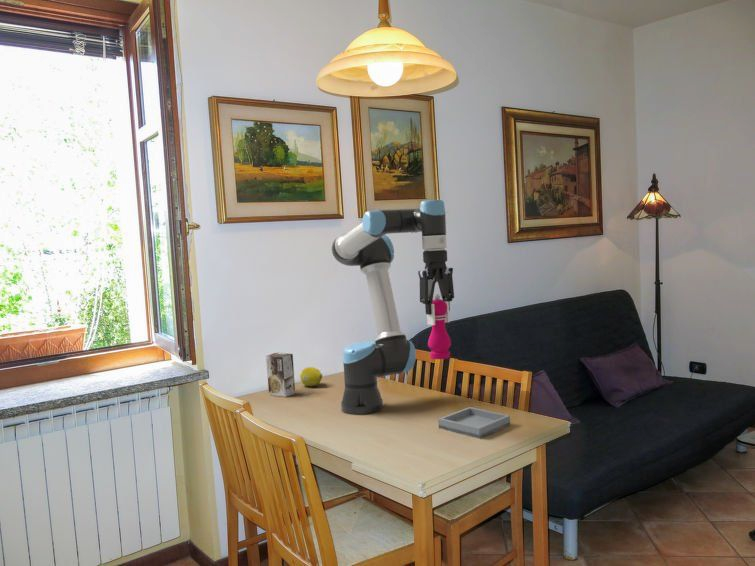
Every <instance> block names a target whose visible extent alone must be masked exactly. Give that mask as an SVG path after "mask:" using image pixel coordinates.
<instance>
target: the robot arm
mask: <svg viewBox="0 0 755 566" xmlns="http://www.w3.org/2000/svg"><path fill="white" fill-rule="evenodd" d="M446 214H447V213H446V209H445V201H443V200H442V199H428V200H427V199H426V200H422V201H421V202H420V207H419V208H407V209H405V208H403V209H374V210H367V211H366V212H365V213H364V215H363V217H362V222H361V223H360V224H358V225H357V226H355V227H354V228H353V229H352V230H350V231H348V232H347V233H346V232H345V233H341V234H339V236H337V237H336V238H335V239H334V240H333V242H332V244H331V253H332V256H333V258H334V259H335V260H336V261H337V262H339V263H340V264H341V265H344V266H349V267H357V266H359V268H360V271H361V273H362V274H364V275H365V278H366V281H367V287H368V292H369V299H370V302H371V307H372V312H373V317H374V323H375V329H376V332H377V336H376V339H375V340H374V341H371V340H370V341H369V340H367V341H366V340H365V341H359V342H354V343H351V344H349V345H347V346H346V347H345V348H344V349H343V352H342V354H343V358H342V363H343V375H344V391H343V395H342V400H341V402H340V410H341V412H344V413H345V414H351V415H364V414H365V415H367V414H373V413H376V412H379V411H381V410H382V409H384V401H383V399H382V396H381V393H380V390H379V386H378V378H381V377H387V376H393V375H401V374H404V373H409V372H411V370H413V368H414V366H415V362H416V358H417V357H416V355H417V353H416V348H415V347H416V346H415V344H414V343H413V341H412V340H409V339H407V335H406V334H405V333H404V332H402V330H401V326H400V322H399V316H398V313H397V308H396V301H395V298H394V292H393V289H392V283H391V277H390V275H389V274H390V273H389V269H390V268H391V266H392V264H391V263H392V262H393V260H394V259H395V249H394V245H393V242H392V240H391V239H390V237H389V236H388V235H387V234H401V233H402V234H404V233H405V234H406V233H407V234H408V233H410V234H411V233H412V234H413V233H420V232H421V240H422V243H421V245H422V249H423V250H424V251H423V252H422V261H423V263H424V265H425V266H424V269H423V270H419V271H418V272H417V275H418V278H419V302H420V303H422V304H423V305H424V306H425V314H426V323H427V324H426V325H428V326H432V325H435V309H434V304H432V301H433V300H434V299H433V298H434V292H435V286H436V284H437V285H438V289H439V291H440V297H441V298H442V299H441V300H443V301H445V302H446V304H447V311H446V312H445V315H446V319H445V323H451V322H450V311H451V309H450V308H451V305H450V303H451V302H452V301H453V299H454V298H455V293H454V292H455V291H454V290H455V289H454V281H453V274H454V268H453V267H447V264H446V263H447V262H448V250H447V249H446V248H448V247H447V226H446V224H447V222H446V221H447V220H446Z"/></svg>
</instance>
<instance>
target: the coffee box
mask: <svg viewBox="0 0 755 566" xmlns="http://www.w3.org/2000/svg"><path fill="white" fill-rule="evenodd" d="M265 360H266V363H265V364H266V373H267V387H268V395H269V396H275V397H276V396H277V397H285V398H287V397H289V396H292V395H294V394H296V387H295V386H296V384H295V382H296V381H295V369H294V355H293V353H286V352H285V353H284V352H274V353H271V354H268V355H266V356H265Z"/></svg>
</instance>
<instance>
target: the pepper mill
mask: <svg viewBox="0 0 755 566" xmlns="http://www.w3.org/2000/svg"><path fill="white" fill-rule="evenodd" d="M433 298H434V299H433V301H432V304H434V309H435V325H431V326H432V327H431V332H430V334H429V338H428V341H427V347H428V348H429V349H430V350H431V351H430V352H429V355H430V356H429V357H430V359H431V360H446V359H449V358H450V357H451V351H450V350H449V349H450V347H451V346H452V340H451V338H450V335H449V333H448V332H447V329H446V322H445V319H446V315H445V312H446V311H447V304H446V302H445V301H443V300H442V299H440V298H441V295H439V294H435V295H433Z"/></svg>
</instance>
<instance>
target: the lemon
mask: <svg viewBox="0 0 755 566" xmlns="http://www.w3.org/2000/svg"><path fill="white" fill-rule="evenodd" d="M299 375H300V377H299V378H300V381H301V382H302V383H301V384H303V385H304V386H306V387H314V386H317V385H319V383H320V382H321V381H322V379H323V374H322V373H321V370H319V369H318V368H316V367H313V366H312V367H311V366H310V367H309V366H307V367H305V368H304V369H303V370H301V373H300V374H299Z"/></svg>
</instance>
